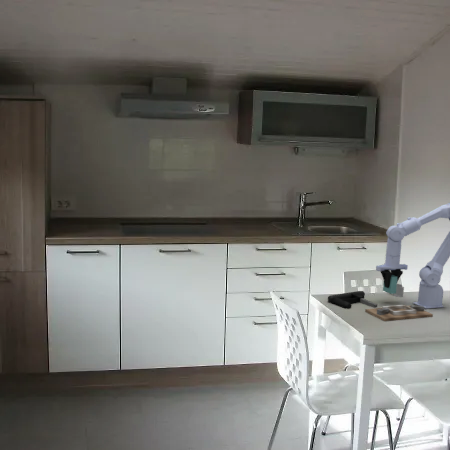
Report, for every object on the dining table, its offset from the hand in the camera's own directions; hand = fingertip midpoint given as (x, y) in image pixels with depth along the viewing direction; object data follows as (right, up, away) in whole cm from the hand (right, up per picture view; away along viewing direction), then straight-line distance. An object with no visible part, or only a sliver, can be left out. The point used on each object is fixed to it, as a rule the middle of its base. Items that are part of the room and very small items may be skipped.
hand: (390, 287), depth 247 cm
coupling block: (0, -2, +1) cm, 2 cm away
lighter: (+6, -5, +14) cm, 16 cm away
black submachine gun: (-15, -7, -2) cm, 16 cm away
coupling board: (-1, -9, -14) cm, 17 cm away
